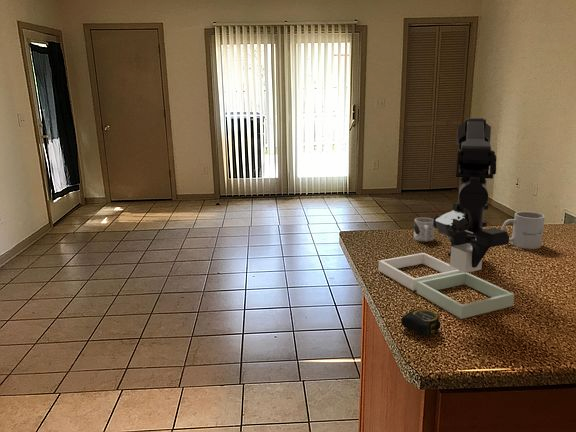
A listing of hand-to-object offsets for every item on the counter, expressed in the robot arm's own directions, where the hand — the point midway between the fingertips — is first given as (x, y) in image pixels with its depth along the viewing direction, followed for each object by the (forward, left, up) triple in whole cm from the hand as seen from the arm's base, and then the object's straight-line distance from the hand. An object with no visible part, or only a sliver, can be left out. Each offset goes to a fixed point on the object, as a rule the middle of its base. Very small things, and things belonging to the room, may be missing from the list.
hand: (466, 263), depth 114 cm
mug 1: (-22, -42, -9) cm, 48 cm away
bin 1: (0, -17, -9) cm, 19 cm away
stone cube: (0, 0, -1) cm, 1 cm away
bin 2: (0, 0, -9) cm, 9 cm away
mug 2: (-47, -25, -9) cm, 54 cm away
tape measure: (+20, +9, -10) cm, 23 cm away
